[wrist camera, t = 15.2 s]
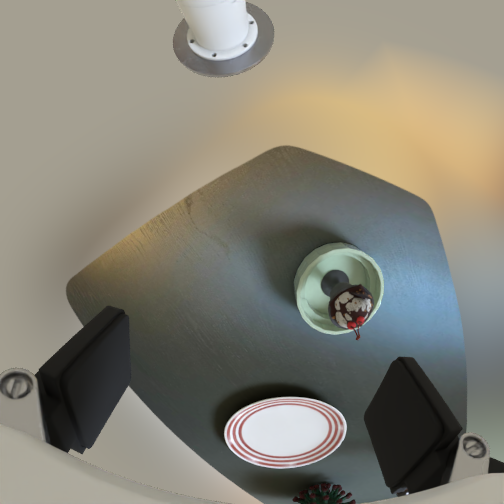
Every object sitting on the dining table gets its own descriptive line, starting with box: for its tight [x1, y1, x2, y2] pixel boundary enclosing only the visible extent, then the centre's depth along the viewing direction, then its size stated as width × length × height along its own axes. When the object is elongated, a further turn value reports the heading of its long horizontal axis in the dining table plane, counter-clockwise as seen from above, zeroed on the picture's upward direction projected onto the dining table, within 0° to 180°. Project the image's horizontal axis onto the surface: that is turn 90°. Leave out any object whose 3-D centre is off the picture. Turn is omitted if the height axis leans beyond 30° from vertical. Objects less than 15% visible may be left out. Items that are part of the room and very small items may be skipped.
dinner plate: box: [224, 397, 346, 468], centre depth 53 cm, size 28×27×3 cm
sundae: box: [321, 270, 374, 340], centre depth 39 cm, size 7×7×15 cm
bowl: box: [294, 242, 384, 334], centre depth 44 cm, size 14×14×5 cm
